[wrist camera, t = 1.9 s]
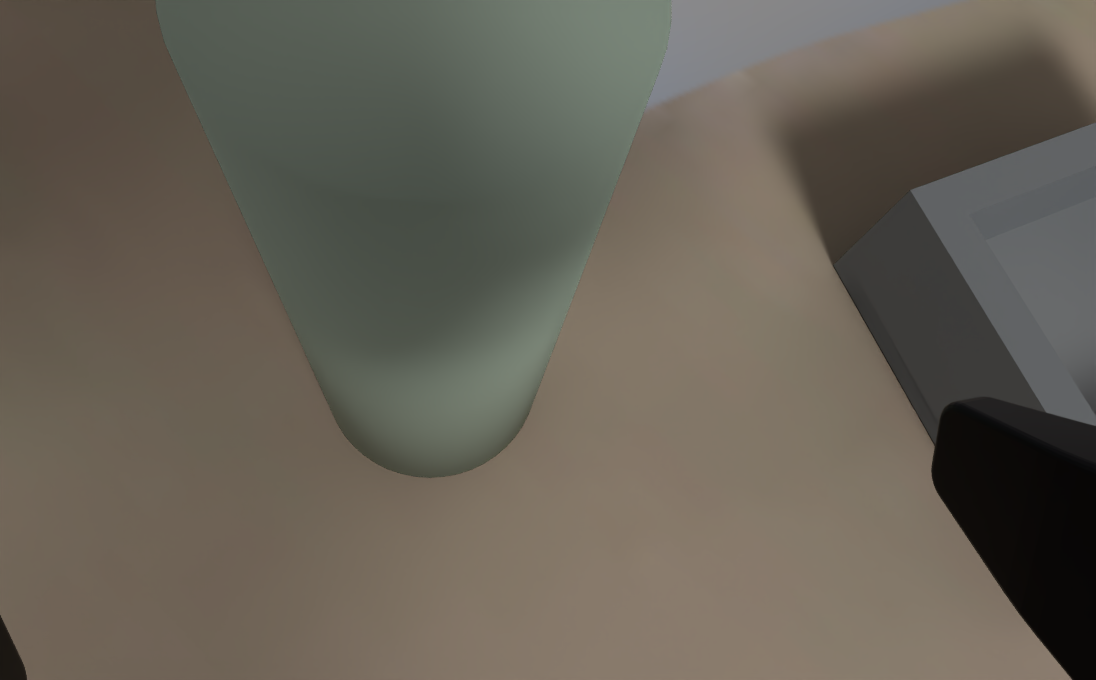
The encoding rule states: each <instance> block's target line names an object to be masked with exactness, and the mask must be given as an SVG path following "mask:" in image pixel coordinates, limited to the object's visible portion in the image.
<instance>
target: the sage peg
mask: <svg viewBox="0 0 1096 680" xmlns="http://www.w3.org/2000/svg"><path fill="white" fill-rule="evenodd" d="M156 11H157V16H158V20H159V24H160V28H161V32H162V36H163V40H164V43H165V45H166V47H167V49H168V52H169V54H170V56H171V58H172V61H173V63H174V65H175V67H176V70H177V72H178V74H179V76H180V78H181V81H182V83H183V85H184V87H185V89H186V92H187V94H188V96H189V98H190V100H191V103H192V105H193V107H194V109H195V111H196V114H197V116H198V118H199V120H200V122H201V125H202V127H203V129H204V131H205V134H206V136H207V138H208V140H209V142H210V145H211V147H212V149H213V151H214V153H215V156H216V158H217V160H218V162H219V164H220V167H221V169H222V171H223V173H224V175H225V178H226V180H227V182H228V184H229V186H230V189H231V191H232V193H233V195H234V197H235V200H236V202H237V204H238V206H239V208H240V211H241V213H242V215H243V217H244V219H245V222H246V224H247V226H248V228H249V230H250V233H251V235H252V237H253V239H254V241H255V244H256V246H257V248H258V250H259V252H260V255H261V257H262V259H263V261H264V263H265V266H266V268H267V270H268V272H269V275H270V277H271V279H272V281H273V283H274V286H275V288H276V290H277V292H278V294H279V297H280V299H281V301H282V303H283V305H284V308H285V310H286V312H287V314H288V316H289V319H290V321H291V323H292V325H293V327H294V330H295V332H296V334H297V336H298V338H299V341H300V343H301V345H302V347H303V349H304V352H305V354H306V356H307V358H308V360H309V363H310V365H311V367H312V369H313V371H314V374H315V376H316V378H317V380H318V382H319V385H320V387H321V389H322V391H323V393H324V396H325V398H326V400H327V402H328V404H329V407H330V409H331V411H332V413H333V416H334V418H335V420H336V422H337V424H338V426H339V427H340V429H341V431H342V432H343V434H344V435H345V436H346V438H347V439H348V440H349V441H350V442H351V444H352V445H353V446H354V447H355V448H356V449H358V450H359V451H360V452H361V453H362V454H363V455H364V456H366V457H367V458H369V459H370V460H372V461H373V462H375V463H376V464H378V465H380V466H382V467H384V468H386V469H389V470H392V471H395V472H397V473H400V474H405V475H410V476H415V477H428V478H432V477H445V476H451V475H456V474H460V473H463V472H466V471H469V470H472V469H474V468H476V467H478V466H480V465H482V464H484V463H486V462H487V461H489V460H490V459H492V458H493V457H495V456H496V455H497V454H499V453H500V452H501V451H502V450H503V449H504V448H506V447H507V445H508V444H509V443H510V442H511V441H512V440H513V439H514V438H515V436H516V435H517V433H518V432H519V431H520V429H521V428H522V426H523V424H524V422H525V420H526V418H527V416H528V414H529V412H530V409H531V406H532V404H533V401H534V398H535V396H536V393H537V391H538V388H539V385H540V383H541V380H542V378H543V375H544V372H545V370H546V367H547V364H548V362H549V359H550V357H551V354H552V351H553V349H554V346H555V343H556V341H557V338H558V336H559V333H560V330H561V328H562V325H563V322H564V320H565V317H566V315H567V312H568V309H569V307H570V304H571V301H572V299H573V296H574V294H575V291H576V288H577V286H578V283H579V281H580V278H581V275H582V273H583V270H584V267H585V265H586V262H587V260H588V257H589V254H590V252H591V249H592V246H593V244H594V241H595V239H596V236H597V233H598V231H599V228H600V225H601V223H602V220H603V218H604V215H605V212H606V210H607V207H608V204H609V202H610V199H611V197H612V194H613V191H614V189H615V186H616V184H617V181H618V178H619V176H620V173H621V170H622V168H623V165H624V163H625V160H626V157H627V155H628V152H629V149H630V147H631V144H632V142H633V139H634V136H635V134H636V131H637V128H638V126H639V123H640V121H641V118H642V115H643V113H644V110H645V108H646V105H647V102H648V100H649V97H650V94H651V92H652V89H653V87H654V84H655V81H656V78H657V76H658V73H659V70H660V68H661V65H662V61H663V59H664V55H665V53H666V50H667V45H668V39H669V33H670V27H671V0H156Z"/></svg>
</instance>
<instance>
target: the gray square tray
mask: <svg viewBox="0 0 1096 680" xmlns="http://www.w3.org/2000/svg"><path fill="white" fill-rule="evenodd" d="M834 267H835V269H836V271H837V272H838V274H839V276H840V278H841V279H842V281H843V283H844V285H845V287H846V288H847V290H848V292H849V294H850V295H851V297H852V299H853V301H854V302H855V304H856V306H857V308H858V310H859V311H860V313H861V315H862V317H863V318H864V320H865V322H866V324H867V325H868V327H869V329H870V331H871V332H872V334H873V336H874V338H875V340H876V341H877V343H878V345H879V347H880V348H881V350H882V352H883V354H884V355H885V357H886V359H887V361H888V363H889V364H890V366H891V368H892V370H893V371H894V373H895V375H896V377H897V378H898V380H899V382H900V384H901V385H902V387H903V389H904V391H905V393H906V394H907V396H908V398H909V400H910V401H911V403H912V405H913V407H914V408H915V410H916V412H917V414H918V416H919V417H920V419H921V421H922V423H923V424H924V426H925V428H926V430H927V431H928V433H929V435H930V437H931V438H932V440H933V442H934V444H935V443H936V437H937V431H938V425H939V418H940V415H941V412H942V410H943V409H944V407H945V406H946V405H948V404H949V403H951V402H955V401H960V400H964V399H969V398H974V397H980V396H987V397H992V398H995V399H999V400H1003V401H1006V402H1010V403H1014V404H1017V405H1021V406H1025V407H1028V408H1032V409H1036V410H1039V411H1043V412H1047V413H1050V414H1054V415H1058V416H1061V417H1065V418H1068V419H1072V420H1076V421H1079V422H1083V423H1087V424H1090V425H1094V426H1096V123H1093V124H1090V125H1088V126H1085V127H1082V128H1079V129H1077V130H1074V131H1071V132H1068V133H1066V134H1063V135H1060V136H1057V137H1055V138H1052V139H1049V140H1046V141H1044V142H1041V143H1038V144H1035V145H1033V146H1030V147H1027V148H1024V149H1022V150H1019V151H1016V152H1013V153H1011V154H1008V155H1005V156H1002V157H1000V158H997V159H994V160H991V161H989V162H986V163H983V164H981V165H978V166H975V167H972V168H970V169H967V170H964V171H961V172H959V173H956V174H953V175H950V176H948V177H945V178H942V179H939V180H937V181H934V182H931V183H928V184H926V185H923V186H920V187H917V188H915V189H912V190H910V191H909V192H908V193H907V194H906V195H905V196H904V197H903V198H902V199H901V200H900V201H899V202H898V203H896V204H895V205H894V206H893V207H892V208H891V209H890V210H889V211H888V212H887V213H886V214H885V215H884V216H883V217H882V218H881V219H880V220H879V221H878V222H877V223H876V224H875V225H874V226H873V227H872V228H871V229H870V230H869V231H868V232H867V233H866V234H865V235H864V236H863V237H862V238H861V239H859V240H858V241H857V242H856V243H855V244H854V245H853V246H852V247H851V248H850V249H849V250H848V251H847V252H846V253H845V254H844V255H843V256H842V257H841V258H840V259H839V260H838V261H837V262H836V263H835V264H834Z"/></svg>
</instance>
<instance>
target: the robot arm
mask: <svg viewBox="0 0 1096 680" xmlns="http://www.w3.org/2000/svg"><path fill="white" fill-rule="evenodd" d="M931 472H932V479H933V483H934V486H935V489H936V491H937V493H938V495H939V496H940V498H941V499H942V501H943V502H944V504H945V505H946V507H947V508H948V510H949V511H950V513H951V514H952V516H953V517H954V519H955V520H956V522H957V523H958V525H959V526H960V528H961V529H962V530H963V532H964V533H965V535H966V536H967V538H968V539H969V541H970V542H971V544H972V545H973V547H974V548H975V550H976V551H977V553H978V554H979V556H980V557H981V559H982V560H983V562H984V563H985V565H986V566H987V568H988V569H989V571H990V572H991V574H992V575H993V577H994V578H995V580H996V581H997V583H998V584H999V586H1000V587H1001V589H1002V590H1003V592H1004V593H1005V595H1006V596H1007V597H1008V599H1009V600H1010V602H1011V603H1012V604H1013V606H1014V607H1015V609H1016V610H1017V611H1018V613H1019V614H1020V616H1021V617H1022V618H1023V619H1024V621H1025V622H1026V623H1027V625H1028V626H1029V627H1030V628H1031V630H1032V631H1033V632H1034V633H1035V635H1036V636H1037V637H1038V638H1039V640H1040V641H1041V642H1042V643H1043V645H1044V646H1045V647H1046V648H1047V649H1048V651H1049V652H1050V653H1051V654H1052V656H1053V657H1054V658H1055V659H1056V660H1057V662H1058V663H1059V664H1060V665H1061V667H1062V668H1063V669H1064V670H1065V671H1066V673H1067V674H1068V675H1069V676H1070V678H1071V679H1072V680H1096V426H1094V425H1090V424H1087V423H1083V422H1079V421H1076V420H1072V419H1068V418H1065V417H1061V416H1058V415H1054V414H1050V413H1047V412H1043V411H1039V410H1036V409H1032V408H1028V407H1025V406H1021V405H1017V404H1014V403H1010V402H1006V401H1003V400H999V399H995V398H992V397H987V396H980V397H974V398H969V399H964V400H960V401H955V402H951V403H949V404H948V405H946V406H945V407H944V409H943V410H942V412H941V415H940V418H939V425H938V431H937V437H936V443H935V449H934V455H933V461H932V469H931ZM0 680H27V675H26V671H25V667H24V665H23V662H22V660H21V658H20V656H19V654H18V651H17V649H16V647H15V645H14V643H13V641H12V639H11V637H10V635H9V632H8V630H7V628H6V626H5V624H4V622H3V620H2V618H1V615H0Z"/></svg>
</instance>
